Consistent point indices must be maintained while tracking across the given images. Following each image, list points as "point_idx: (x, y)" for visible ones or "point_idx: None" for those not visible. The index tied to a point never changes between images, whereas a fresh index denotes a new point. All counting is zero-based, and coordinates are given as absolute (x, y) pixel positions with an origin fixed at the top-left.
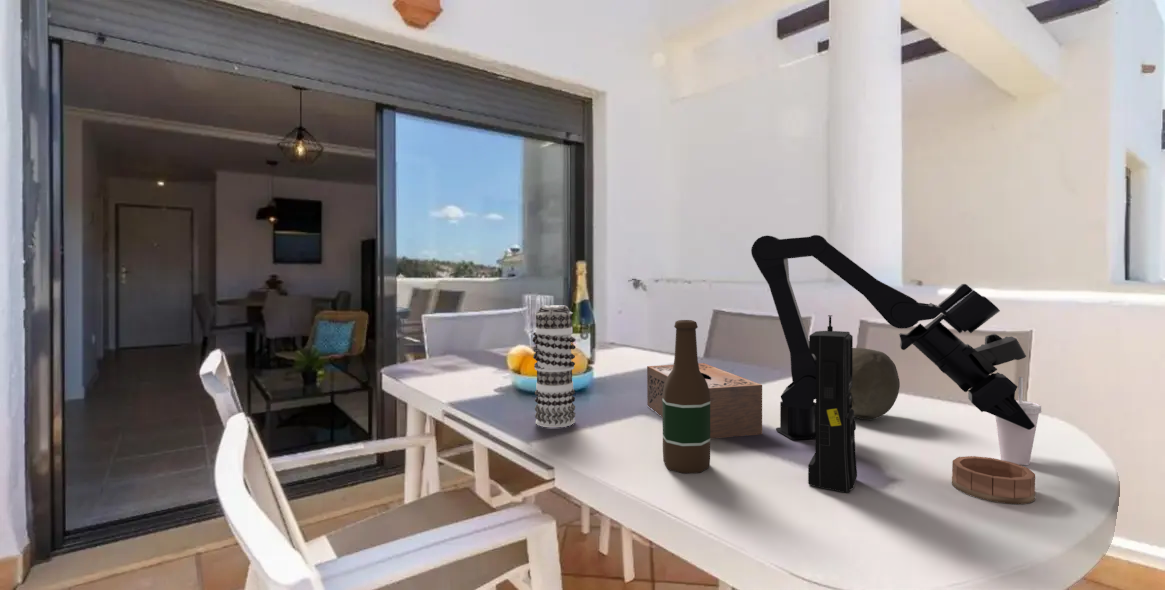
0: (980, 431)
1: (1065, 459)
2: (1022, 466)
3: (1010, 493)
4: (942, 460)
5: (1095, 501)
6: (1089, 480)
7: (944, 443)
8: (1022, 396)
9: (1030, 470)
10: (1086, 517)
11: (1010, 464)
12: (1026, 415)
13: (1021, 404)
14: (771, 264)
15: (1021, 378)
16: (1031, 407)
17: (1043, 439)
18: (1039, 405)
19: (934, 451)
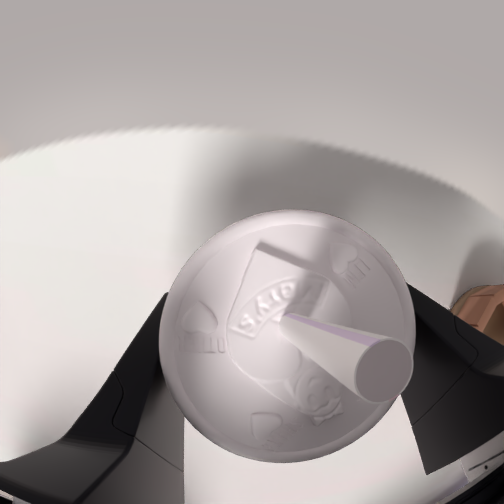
0: (17, 360)
1: (167, 195)
2: (489, 305)
3: None
4: (353, 457)
5: (445, 197)
6: (329, 174)
7: (187, 466)
8: (305, 316)
9: (499, 291)
10: (501, 227)
11: (484, 327)
12: (424, 295)
13: (349, 319)
14: None
15: (407, 356)
16: (369, 267)
17: (18, 227)
18: (297, 216)
19: (284, 481)
